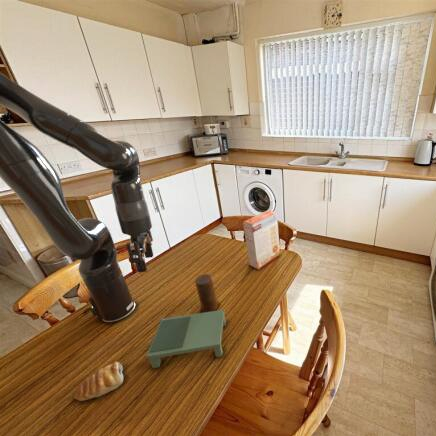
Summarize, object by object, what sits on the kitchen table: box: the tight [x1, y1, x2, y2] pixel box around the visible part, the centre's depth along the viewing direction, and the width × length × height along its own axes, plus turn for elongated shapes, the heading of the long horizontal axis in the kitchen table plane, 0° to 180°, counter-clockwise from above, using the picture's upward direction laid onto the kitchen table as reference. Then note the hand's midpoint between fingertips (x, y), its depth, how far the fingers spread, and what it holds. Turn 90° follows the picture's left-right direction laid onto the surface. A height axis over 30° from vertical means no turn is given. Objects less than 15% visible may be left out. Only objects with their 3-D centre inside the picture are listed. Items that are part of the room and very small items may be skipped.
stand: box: [145, 309, 227, 369], centre depth 67 cm, size 18×12×5 cm, turn 99°
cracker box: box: [242, 209, 281, 270], centre depth 100 cm, size 14×6×21 cm, turn 141°
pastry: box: [73, 361, 124, 402], centre depth 57 cm, size 9×7×4 cm
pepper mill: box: [194, 273, 219, 313], centre depth 78 cm, size 5×5×12 cm
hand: (146, 263), depth 73 cm, fingers open, 8 cm apart
